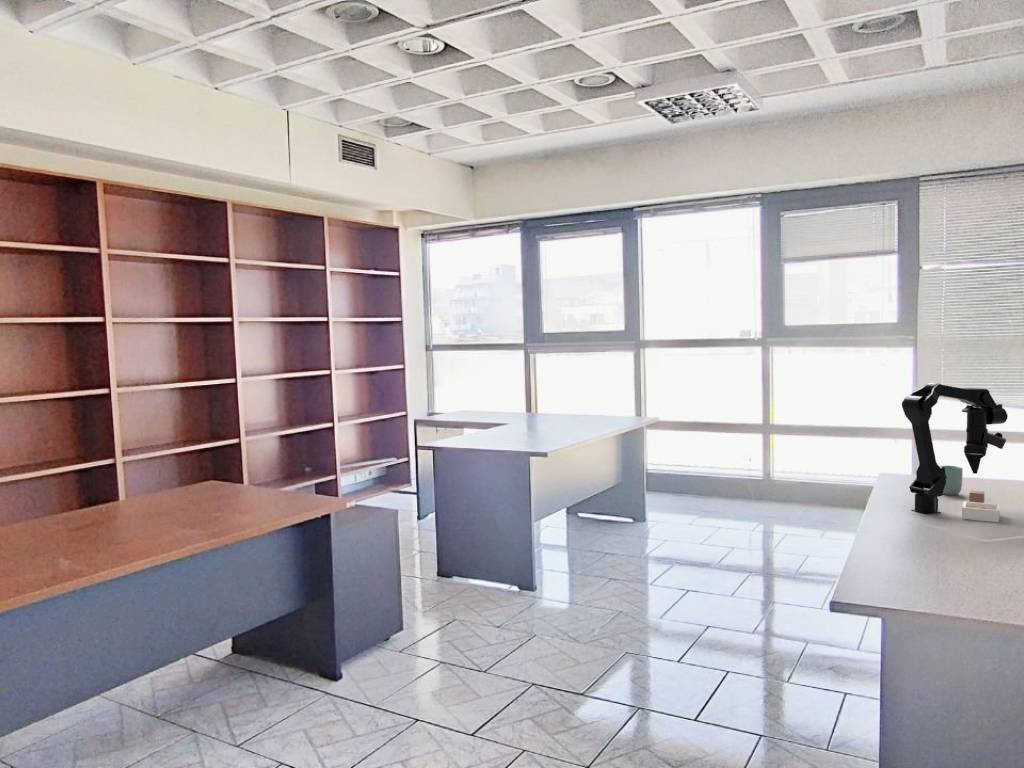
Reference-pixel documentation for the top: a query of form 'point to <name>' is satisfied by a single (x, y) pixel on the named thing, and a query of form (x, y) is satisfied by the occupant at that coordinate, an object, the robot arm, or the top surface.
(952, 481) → the cup
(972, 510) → the box
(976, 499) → the lid
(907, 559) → the top surface
